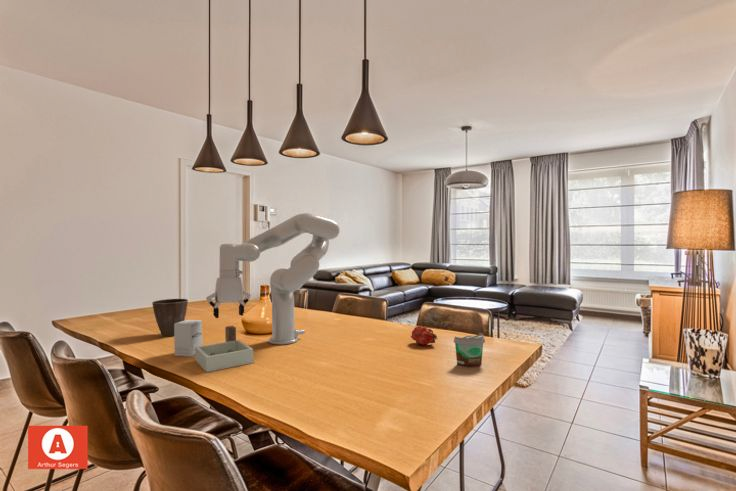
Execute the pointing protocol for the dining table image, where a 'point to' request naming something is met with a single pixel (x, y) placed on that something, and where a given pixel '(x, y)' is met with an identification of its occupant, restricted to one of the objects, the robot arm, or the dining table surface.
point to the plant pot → (169, 314)
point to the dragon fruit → (423, 335)
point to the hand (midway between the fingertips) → (229, 316)
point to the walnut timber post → (230, 333)
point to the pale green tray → (223, 355)
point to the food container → (469, 350)
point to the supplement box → (187, 337)
